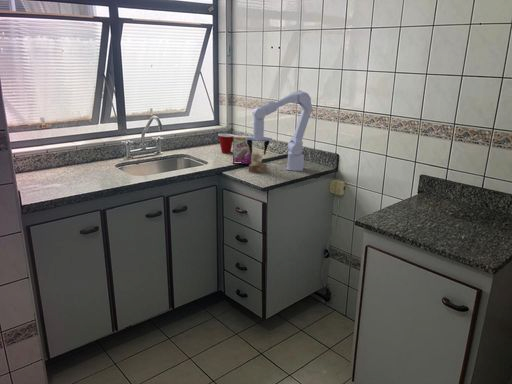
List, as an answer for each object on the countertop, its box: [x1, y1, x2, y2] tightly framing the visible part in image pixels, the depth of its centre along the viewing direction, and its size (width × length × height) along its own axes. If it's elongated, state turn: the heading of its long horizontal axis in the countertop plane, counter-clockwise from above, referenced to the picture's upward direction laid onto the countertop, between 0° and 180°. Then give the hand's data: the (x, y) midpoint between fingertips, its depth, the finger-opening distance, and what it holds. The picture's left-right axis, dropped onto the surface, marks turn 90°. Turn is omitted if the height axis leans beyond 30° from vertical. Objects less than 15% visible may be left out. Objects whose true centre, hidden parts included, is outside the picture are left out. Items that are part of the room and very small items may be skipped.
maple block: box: [252, 152, 263, 166], centre depth 234 cm, size 5×5×6 cm
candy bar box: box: [232, 134, 253, 165], centre depth 247 cm, size 11×5×16 cm, turn 84°
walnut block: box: [248, 162, 267, 174], centre depth 235 cm, size 8×8×4 cm
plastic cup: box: [217, 133, 235, 154], centre depth 271 cm, size 11×11×12 cm
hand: (258, 153), depth 233 cm, fingers open, 7 cm apart
